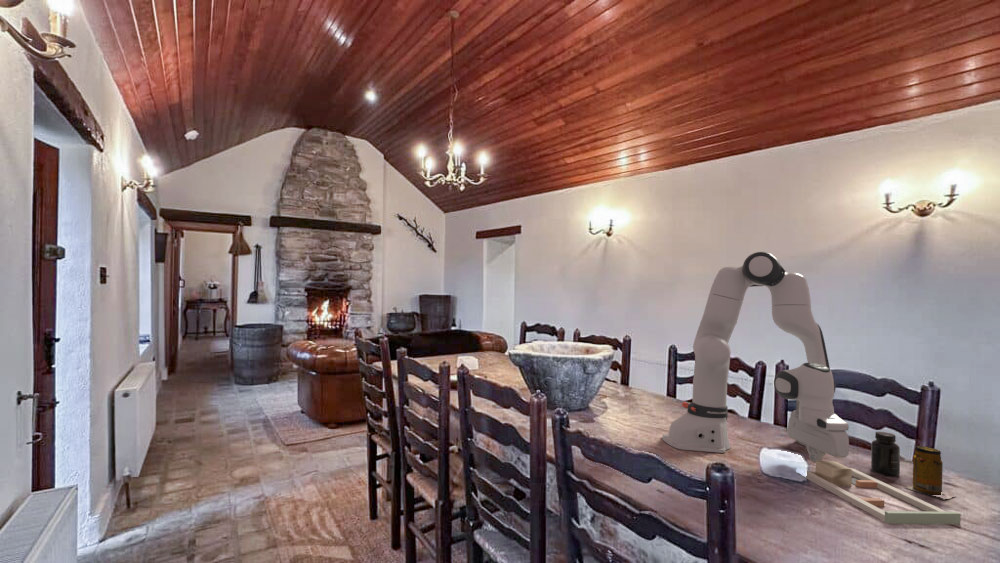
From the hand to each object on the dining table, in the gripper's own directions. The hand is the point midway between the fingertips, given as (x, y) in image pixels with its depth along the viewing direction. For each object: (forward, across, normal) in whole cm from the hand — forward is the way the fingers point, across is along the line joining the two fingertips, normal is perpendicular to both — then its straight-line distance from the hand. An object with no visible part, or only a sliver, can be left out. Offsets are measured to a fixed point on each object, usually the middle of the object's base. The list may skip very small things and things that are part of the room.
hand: (815, 462), depth 140 cm
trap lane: (+3, +16, +1) cm, 17 cm away
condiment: (+3, +15, +22) cm, 27 cm away
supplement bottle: (+3, +1, +23) cm, 23 cm away
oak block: (+3, +8, -1) cm, 8 cm away
